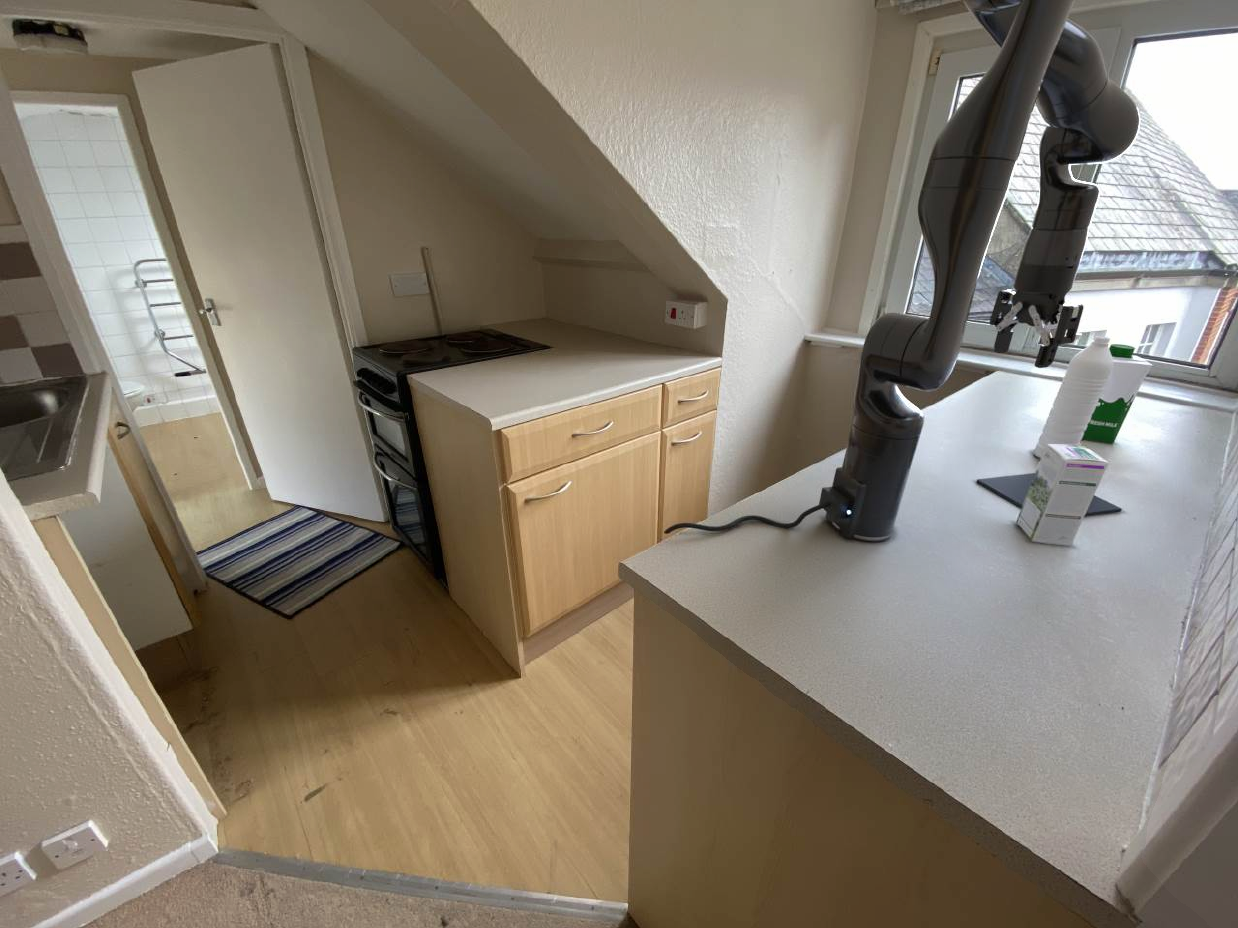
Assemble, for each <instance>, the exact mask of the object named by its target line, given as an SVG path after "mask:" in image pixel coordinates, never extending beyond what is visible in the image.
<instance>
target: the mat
mask: <svg viewBox="0 0 1238 928" xmlns="http://www.w3.org/2000/svg"><path fill="white" fill-rule="evenodd" d="M1035 473H1036V472H1033V473H1024V474H1014V475H1006V476H997V477H996V476H995V477H987V478H979V479H978V478H977V479H976V483H977V484H979V485H980V486H983V487H984V488H986V489H987V490H990V491H991V492H993V493H995V494H997V495H998V496H999V497H1001V498H1003V499H1005V500H1007V501H1008V502H1010V503H1011V504H1013V505H1015V506H1017V507H1019V508H1020V509H1021V508H1022V505H1023V503H1024V500H1025V498H1026V495H1027V493H1028V490H1029V488H1030V485H1031V483H1032V480H1033V478H1034V475H1035ZM1122 509H1123V508H1122V507H1120V506H1118V505H1115V504H1114V503H1111V502H1110V501H1107V500H1105V499H1103V498H1101V497H1099V496H1097V495H1096V494H1094V496H1093V498H1092V501H1091V503H1090V505H1089V507H1088V509H1087V512H1086V514H1085V516H1084V517H1089V516H1090V517H1091V516H1097V515H1104V514H1105V515H1106V514H1113V513H1118V512H1120V513H1121V512H1122Z"/></svg>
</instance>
